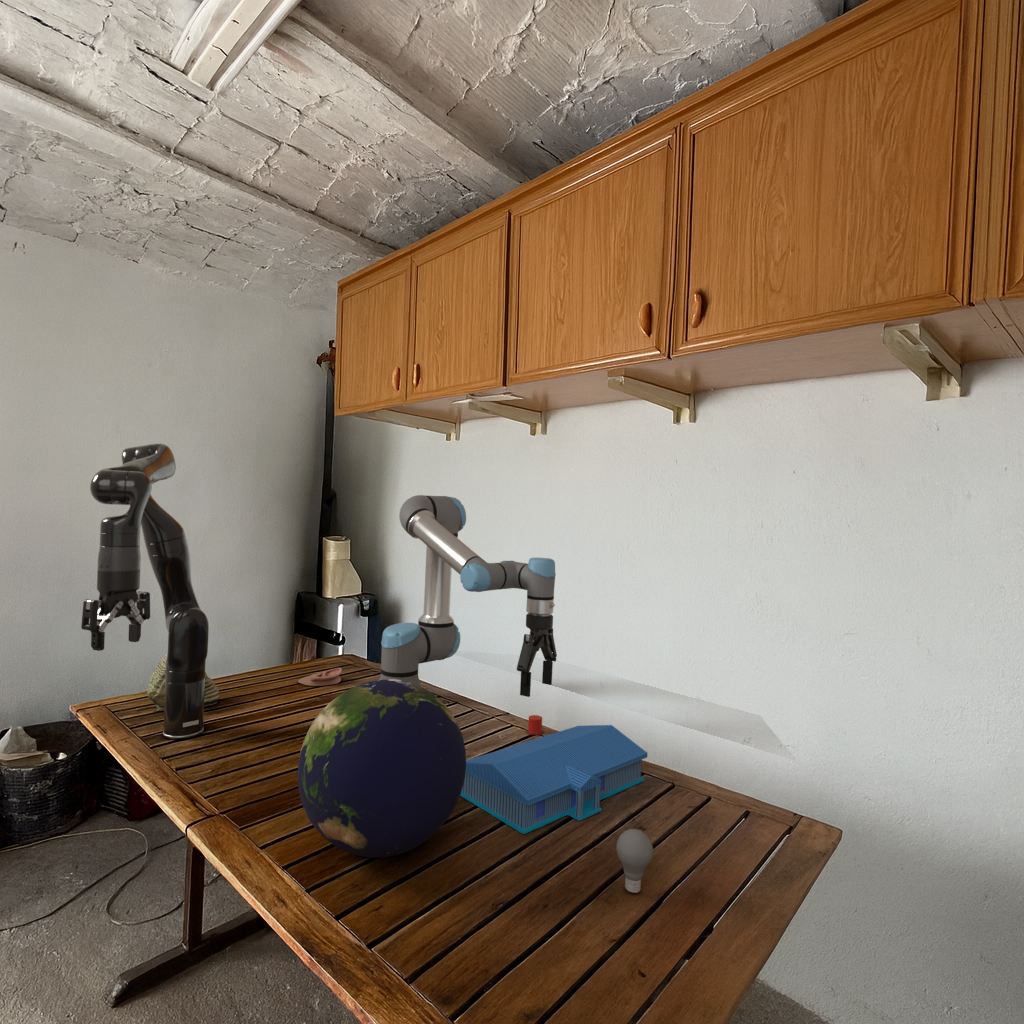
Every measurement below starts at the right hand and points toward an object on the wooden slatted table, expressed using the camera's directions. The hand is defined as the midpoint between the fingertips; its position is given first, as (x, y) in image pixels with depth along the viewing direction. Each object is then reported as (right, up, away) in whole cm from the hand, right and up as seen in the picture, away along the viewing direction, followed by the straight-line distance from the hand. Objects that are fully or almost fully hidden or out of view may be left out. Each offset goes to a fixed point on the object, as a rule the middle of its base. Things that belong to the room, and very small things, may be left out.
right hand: (536, 689), depth 176 cm
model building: (+4, -13, -34) cm, 37 cm away
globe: (-31, -12, -60) cm, 69 cm away
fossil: (-103, -7, +9) cm, 103 cm away
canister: (0, -12, 0) cm, 12 cm away
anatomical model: (-72, -8, +38) cm, 82 cm away
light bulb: (+13, -14, -71) cm, 73 cm away
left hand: (-88, +22, -45) cm, 102 cm away
